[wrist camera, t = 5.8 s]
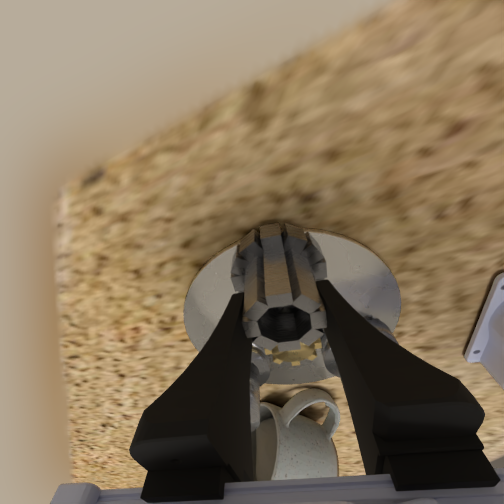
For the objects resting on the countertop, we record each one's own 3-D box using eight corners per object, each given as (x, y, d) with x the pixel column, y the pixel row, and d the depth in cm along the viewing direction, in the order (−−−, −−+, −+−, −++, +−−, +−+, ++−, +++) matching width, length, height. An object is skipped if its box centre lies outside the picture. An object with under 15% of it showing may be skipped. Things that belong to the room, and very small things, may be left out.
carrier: (387, 368, 22) (423, 441, 18) (219, 385, 24) (209, 456, 20) (410, 205, 14) (489, 260, 9) (150, 252, 16) (105, 318, 11)
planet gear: (323, 288, 17) (346, 354, 12) (244, 300, 17) (240, 366, 13) (317, 215, 14) (345, 267, 9) (223, 232, 14) (209, 289, 10)
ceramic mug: (292, 436, 30) (303, 529, 24) (235, 419, 28) (229, 516, 21) (354, 397, 25) (389, 499, 19) (290, 372, 23) (305, 478, 17)
